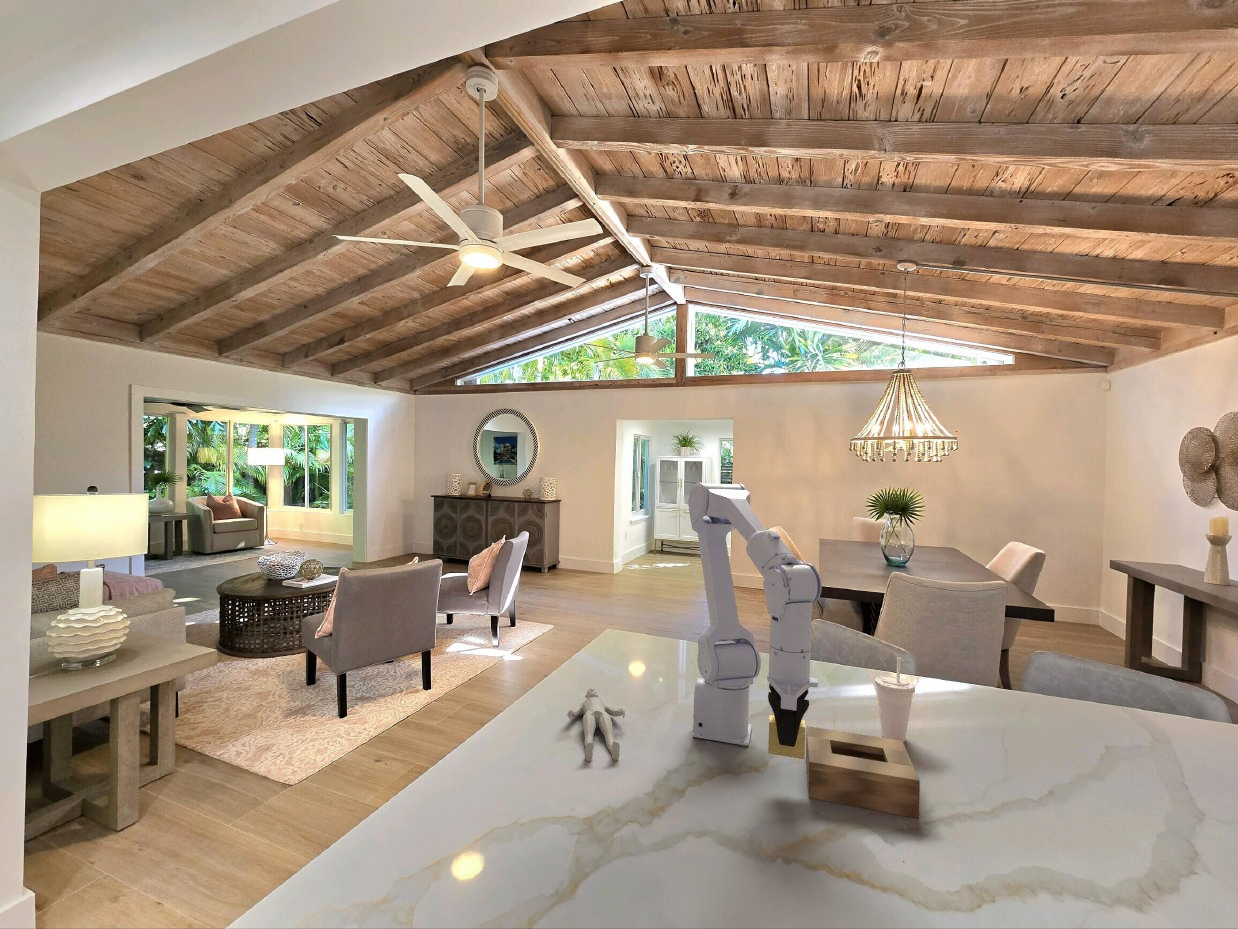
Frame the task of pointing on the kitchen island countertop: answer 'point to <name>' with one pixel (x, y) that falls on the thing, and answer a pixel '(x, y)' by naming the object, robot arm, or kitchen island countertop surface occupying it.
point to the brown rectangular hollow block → (861, 771)
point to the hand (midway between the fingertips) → (786, 740)
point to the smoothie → (894, 704)
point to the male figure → (597, 722)
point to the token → (788, 751)
